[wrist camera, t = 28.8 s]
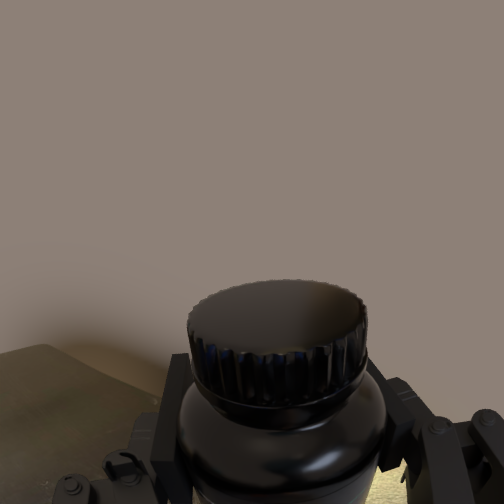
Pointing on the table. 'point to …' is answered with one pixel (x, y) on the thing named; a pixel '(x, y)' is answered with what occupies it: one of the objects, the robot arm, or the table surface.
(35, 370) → the table surface
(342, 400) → the supplement bottle
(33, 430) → the table surface
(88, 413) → the table surface
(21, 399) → the table surface
